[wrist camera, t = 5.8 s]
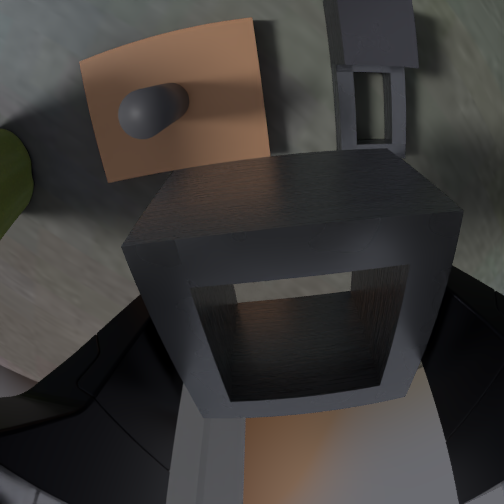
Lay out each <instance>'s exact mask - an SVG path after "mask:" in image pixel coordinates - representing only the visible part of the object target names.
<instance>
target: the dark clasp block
mask: <svg viewBox="0 0 504 504" xmlns="http://www.w3.org/2000/svg"><path fill="white" fill-rule="evenodd" d="M323 6H324V12H325V19H326V27H327V34H328V42H329V51H330V60H331V70H332V81H333V93H334V106H335V121H336V139H337V150H354V149H376V148H387V149H389V150H390V151H391V152H393V153H394V154H396V155H397V156H398V157H400V158H405V150H406V94H405V72H404V67H409V68H419V62H418V49H417V38H416V29H415V20H414V13H413V6H412V0H323ZM353 72H382V73H383V89H384V117H385V139H364V140H357V134H356V110H355V93H354V79H353Z"/></svg>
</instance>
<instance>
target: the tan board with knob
mask: <svg viewBox="0 0 504 504" xmlns="http://www.w3.org/2000/svg"><path fill="white" fill-rule="evenodd" d="M80 68H81V74H82V79H83V84H84V89H85V94H86V99H87V103H88V108H89V112H90V117H91V121H92V125H93V129H94V133H95V137H96V141H97V145H98V149H99V152H100V156H101V160H102V163H103V167H104V170H105V174H106V177H107V181H108V183H111V182H116V181H120V180H125V179H130V178H135V177H140V176H145V175H151V174H156V173H161V172H167V171H173V170H179V169H184V168H190V167H196V166H203V165H209V164H216V163H223V162H230V161H237V160H244V159H252V158H261V157H269V156H270V148H269V139H268V131H267V123H266V115H265V107H264V99H263V91H262V84H261V76H260V69H259V62H258V54H257V47H256V40H255V33H254V27H253V20H252V18H243V19H236V20H229V21H222V22H216V23H210V24H205V25H200V26H195V27H190V28H185V29H181V30H177V31H172V32H168V33H164V34H160V35H157V36H153V37H149V38H146V39H142V40H139V41H136V42H133V43H129V44H126V45H123V46H120V47H117V48H114V49H111V50H109V51H106V52H103V53H100V54H98V55H95V56H92V57H90V58H87V59H85V60H82V61H80Z"/></svg>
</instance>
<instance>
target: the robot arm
mask: <svg viewBox="0 0 504 504" xmlns="http://www.w3.org/2000/svg"><path fill="white" fill-rule="evenodd" d="M421 361H422V364H423V367H424V370H425V373H426V376H427V379H428V382H429V385H430V388H431V391H432V395H433V398H434V401H435V404H436V408H437V411H438V414H439V418H440V422H441V425H442V428H443V432H444V436H445V440H447V441H446V445H447V449H448V453H449V457H450V461H451V466H452V471H453V475H454V480H455V484H456V490H457V496H458V501H459V504H465V503H467V502H470V501H472V500H474V499H476V498H478V497H480V496H483V495H485V494H487V493H489V492H490V491H493V490H494V489H496V488H498V487H500V486H502V490H503V494H504V295H502V294H500V293H499V292H497V291H494V289H492V288H490V287H489V286H487V285H485V284H484V283H482V282H480V281H479V280H477V279H475V278H474V277H472V276H470V275H468V274H467V273H465V272H463V271H461V270H460V269H458V268H456V267H454V266H453V265H452V267H451V271H450V275H449V278H448V282H447V285H446V289H445V292H444V296H443V299H442V302H441V306H440V309H439V312H438V315H437V318H436V321H435V324H434V327H433V329H432V332H431V335H430V338H429V341H428V343H427V346H426V349H425V351H424V354H423V356H422V359H421ZM182 388H183V381H182V379H181V377H180V375H179V373H178V372H177V370H176V368H175V366H174V364H173V362H172V360H171V358H170V356H169V354H168V352H167V350H166V348H165V346H164V344H163V342H162V340H161V338H160V336H159V334H158V332H157V329H156V327H155V325H154V323H153V321H152V319H151V317H150V314H149V312H148V310H147V308H146V306H145V303H144V301H143V299H142V297H141V294H140V295H139V296H138V297H137V298H136V299H135V300H133V301H132V302H131V303H130V304H129V305H128V306H127V307H125V308H124V309H123V310H122V311H121V312H120V313H119V314H118V315H117V316H115V317H114V318H113V319H112V320H111V321H110V322H109V323H108V324H107V325H105V326H104V327H103V328H102V329H101V330H100V331H99V332H98V333H97V335H94V336H93V337H92V338H91V339H90V340H89V341H88V342H87V343H86V344H84V345H83V346H82V347H81V348H80V349H79V350H78V351H77V352H75V353H74V354H73V355H72V356H71V357H69V358H68V359H67V360H66V361H65V362H63V363H62V364H61V365H60V366H58V367H57V368H56V369H55V370H53V371H52V372H51V373H50V374H48V375H47V376H46V377H45V378H43V379H42V380H41V381H40V382H38V384H36V385H35V386H34V387H32V388H31V389H29V390H28V391H26V392H24V393H22V394H20V395H17V396H12V397H2V398H0V504H166V499H167V491H168V483H169V475H170V467H171V460H172V453H173V446H174V439H175V432H176V426H177V419H178V413H179V407H180V400H181V394H182Z"/></svg>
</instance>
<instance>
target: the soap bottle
mask: <svg viewBox="0 0 504 504" xmlns="http://www.w3.org/2000/svg"><path fill="white" fill-rule="evenodd" d="M244 450H245V418H203V417H202V415H201V413H200V411H199V410H198V408H197V406H196V404H195V403H194V401H193V399H192V397H191V396H190V394H189V392H188V390H187V388H186V387H185V385H184V383H183V388H182V394H181V400H180V407H179V413H178V419H177V426H176V432H175V439H174V446H173V453H172V460H171V467H170V475H169V483H168V491H167V499H166V504H243V483H244Z"/></svg>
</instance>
